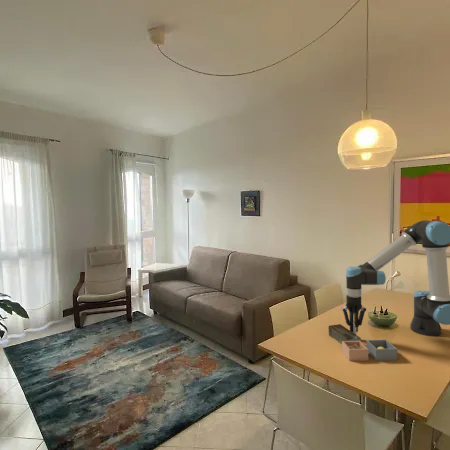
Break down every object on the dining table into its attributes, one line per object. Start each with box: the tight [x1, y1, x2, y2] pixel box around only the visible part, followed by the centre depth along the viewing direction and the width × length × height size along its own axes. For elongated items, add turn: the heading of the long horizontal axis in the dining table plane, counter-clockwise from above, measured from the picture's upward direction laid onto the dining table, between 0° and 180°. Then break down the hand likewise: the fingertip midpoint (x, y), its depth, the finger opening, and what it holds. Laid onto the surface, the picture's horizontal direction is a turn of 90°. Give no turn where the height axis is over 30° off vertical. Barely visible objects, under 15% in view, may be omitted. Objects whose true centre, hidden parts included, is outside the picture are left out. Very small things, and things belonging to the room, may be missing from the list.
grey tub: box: [365, 339, 398, 362], centre depth 148 cm, size 10×10×6 cm
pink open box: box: [341, 340, 369, 362], centre depth 148 cm, size 9×9×6 cm
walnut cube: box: [348, 344, 362, 349], centre depth 148 cm, size 4×4×4 cm
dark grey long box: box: [328, 323, 362, 345], centre depth 165 cm, size 8×19×7 cm, turn 12°
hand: (353, 337), depth 166 cm, fingers closed
